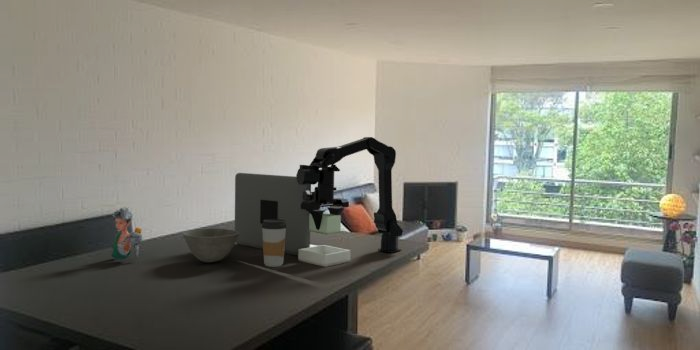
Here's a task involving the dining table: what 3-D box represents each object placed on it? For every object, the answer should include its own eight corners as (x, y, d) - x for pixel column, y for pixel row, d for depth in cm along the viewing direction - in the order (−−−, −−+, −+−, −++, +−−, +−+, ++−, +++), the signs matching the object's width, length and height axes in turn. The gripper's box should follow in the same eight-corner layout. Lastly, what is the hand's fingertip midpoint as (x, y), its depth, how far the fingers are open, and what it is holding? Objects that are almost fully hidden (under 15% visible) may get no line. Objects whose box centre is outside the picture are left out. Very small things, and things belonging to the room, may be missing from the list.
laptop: (353, 247, 217) (355, 174, 215) (307, 259, 192) (309, 177, 191) (282, 236, 238) (283, 170, 236) (232, 246, 214) (233, 172, 212)
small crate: (322, 229, 194) (322, 212, 194) (340, 232, 188) (340, 215, 188) (309, 231, 190) (309, 214, 189) (327, 234, 184) (327, 217, 183)
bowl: (249, 261, 186) (250, 232, 186) (201, 269, 173) (202, 238, 172) (219, 253, 199) (219, 226, 198) (172, 260, 185) (172, 231, 185)
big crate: (323, 255, 198) (323, 244, 198) (350, 261, 189) (350, 250, 189) (298, 260, 189) (298, 249, 189) (325, 266, 180) (325, 255, 180)
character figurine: (99, 259, 183) (99, 207, 182) (116, 255, 191) (116, 204, 190) (128, 262, 180) (128, 209, 179) (144, 258, 188) (144, 206, 187)
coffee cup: (281, 268, 177) (282, 222, 176) (257, 266, 178) (257, 221, 178) (289, 263, 185) (289, 219, 184) (266, 261, 187) (266, 218, 186)
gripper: (328, 181, 200) (327, 223, 201) (290, 183, 187) (289, 228, 187) (350, 183, 193) (349, 227, 194) (312, 185, 179) (311, 232, 180)
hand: (324, 228), depth 189 cm, fingers closed on small crate, 6 cm apart
